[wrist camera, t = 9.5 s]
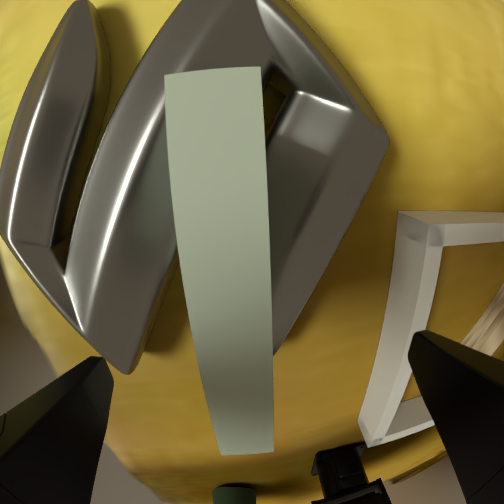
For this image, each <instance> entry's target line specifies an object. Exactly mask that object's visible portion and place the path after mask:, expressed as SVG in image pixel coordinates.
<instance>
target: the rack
mask: <svg viewBox="0 0 504 504" xmlns="http://www.w3.org/2000/svg"><path fill="white" fill-rule="evenodd" d="M503 241H504V212H477V211H398V214H397V228H396V239H395V249H394V258H393V266H392V274H391V281H390V287H389V294H388V300H387V306H386V311H385V317H384V322H383V327H382V332H381V336H380V341H379V345H378V350H377V354H376V358H375V362H374V366H373V370H372V374H371V377H370V381H369V385H368V388H367V392H366V395H365V398H364V402H363V405H362V408H361V411H360V414H359V417H358V420H357V422H358V425H359V427H360V430H361V432H362V434H363V437H364V439H365V442H366V444H367V447H368V448H369V447H373V446H376V445H380V444H383V443H386V442H389V441H392V440H396V439H399V438H401V437H404V436H407V435H410V434H413V433H415V432H418V431H421V430H423V429H426V428H428V427H431V426H433V425H435V424H434V422H433V420H432V418H431V415H430V413H429V411H428V409H427V407H426V405H425V403H424V401H423V398H422V396H420V397H417V398H414V399H411V400H407V401H404V402H401V403H400V401H401V399H402V396H403V394H404V391H405V389H406V386H407V384H408V381H409V378H410V375H411V373H412V369H411V367H410V364H409V362H408V351H409V347H410V344H411V341H412V337H413V335H414V333H415V332H417V331H421V330H425V329H426V325H427V321H428V318H429V314H430V310H431V306H432V301H433V297H434V292H435V288H436V283H437V278H438V273H439V267H440V261H441V255H442V249H443V246H455V245H467V244H479V243H491V242H503Z"/></svg>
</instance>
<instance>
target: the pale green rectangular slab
mask: <svg viewBox="0 0 504 504" xmlns="http://www.w3.org/2000/svg"><path fill="white" fill-rule="evenodd" d="M164 84H165V113H166V133H167V148H168V162H169V174H170V185H171V195H172V204H173V213H174V222H175V230H176V238H177V246H178V253H179V260H180V267H181V274H182V280H183V286H184V292H185V298H186V304H187V310H188V315H189V321H190V326H191V332H192V337H193V342H194V347H195V352H196V356H197V361H198V366H199V370H200V375H201V379H202V384H203V388H204V392H205V397H206V401H207V405H208V409H209V413H210V417H211V421H212V425H213V428H214V432H215V436H216V439H217V443H218V447H219V450H220V454H221V455H239V454H255V453H267V452H274V400H273V340H272V300H271V268H270V240H269V214H268V192H267V170H266V151H265V132H264V115H263V98H262V82H261V67H234V68H219V69H208V70H198V71H190V72H182V73H175V74H168V75H164Z"/></svg>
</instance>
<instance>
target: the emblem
mask: <svg viewBox="0 0 504 504" xmlns="http://www.w3.org/2000/svg"><path fill="white" fill-rule="evenodd" d="M234 67H261V82H262V91H263V90H264V88H265V86H266V84H267V83H268V81H269V82H270V83H271V84H272V85H273V86H274V87H275V88H277V89H278V90H279V91H280V92H281V93H282V94H284V95H285V96H286V98H285V100H284V102H283V104H282V106H281V107H280V109H279V111H278V113H277V115H276V117H275V119H274V121H273V123H272V125H271V126H270V128H269V130H268V132H267V134H266V136H265V151H266V170H267V192H268V214H269V240H270V268H271V300H272V340H273V356H274V355H275V353H276V352H277V351H278V349H279V348H280V346H281V345H282V343H283V341H284V340H285V338H286V336H287V335H288V333H289V332H290V330H291V328H292V327H293V325H294V323H295V322H296V320H297V318H298V317H299V315H300V313H301V311H302V310H303V308H304V306H305V305H306V303H307V301H308V299H309V298H310V296H311V294H312V293H313V291H314V289H315V287H316V286H317V284H318V282H319V280H320V278H321V277H322V275H323V273H324V271H325V270H326V268H327V266H328V264H329V263H330V261H331V259H332V257H333V255H334V254H335V252H336V250H337V248H338V246H339V245H340V243H341V241H342V239H343V237H344V235H345V234H346V232H347V230H348V228H349V226H350V224H351V222H352V221H353V219H354V217H355V215H356V213H357V211H358V209H359V207H360V205H361V203H362V201H363V199H364V198H365V196H366V194H367V192H368V190H369V188H370V186H371V184H372V182H373V180H374V178H375V176H376V174H377V172H378V170H379V168H380V166H381V163H382V161H383V159H384V157H385V155H386V153H387V150H388V148H389V144H390V140H389V136H388V134H387V132H386V130H385V128H384V126H383V124H382V123H381V121H380V119H379V118H378V116H377V114H376V113H375V111H374V110H373V108H372V107H371V105H370V104H369V102H368V101H367V99H366V97H365V96H364V95H363V93H362V92H361V90H360V89H359V87H358V86H357V84H356V83H355V82H354V80H353V79H352V77H351V76H350V75H349V73H348V72H347V71H346V69H345V68H344V67H343V65H342V64H341V63H340V61H339V60H338V59H337V58H336V56H335V55H334V54H333V53H332V51H331V50H330V49H329V48H328V46H327V45H326V44H325V43H324V42H323V40H322V39H321V38H320V37H319V36H318V35H317V33H316V32H315V31H314V30H313V29H312V28H311V27H310V26H309V24H308V23H307V22H306V21H305V20H304V19H303V18H302V17H301V16H300V15H299V14H298V13H297V12H296V11H295V10H294V9H293V8H292V7H291V6H290V5H289V4H288V3H287V2H286V1H285V0H181V2H180V3H179V4H178V5H177V7H176V8H175V9H174V11H173V12H172V13H171V15H170V16H169V18H168V19H167V20H166V22H165V23H164V25H163V26H162V27H161V29H160V30H159V32H158V33H157V35H156V36H155V38H154V39H153V41H152V42H151V44H150V46H149V47H148V49H147V50H146V52H145V54H144V55H143V57H142V59H141V60H140V62H139V64H138V65H137V67H136V69H135V71H134V72H133V74H132V76H131V78H130V80H129V82H128V83H127V85H126V87H125V89H124V91H123V93H122V95H121V97H120V99H119V101H118V103H117V105H116V107H115V109H114V111H113V114H112V116H111V118H110V120H109V122H108V125H107V127H106V129H105V132H104V134H103V137H102V139H101V141H100V144H99V147H98V149H97V152H96V154H95V157H94V160H93V163H92V165H91V168H90V171H89V174H88V177H87V180H86V183H85V186H84V190H83V193H82V196H81V200H80V204H79V207H78V211H77V215H76V219H75V223H74V227H73V232H72V236H70V230H71V225H72V221H73V217H74V213H75V209H76V205H77V201H78V198H79V194H80V190H81V187H82V183H83V180H84V177H85V173H86V170H87V167H88V164H89V161H90V157H91V154H92V151H93V148H94V145H95V142H96V139H97V136H98V133H99V130H100V127H101V124H102V121H103V117H104V114H105V110H106V106H107V102H108V97H109V89H110V59H109V51H108V46H107V41H106V37H105V33H104V29H103V26H102V22H101V19H100V17H99V14H98V11H97V9H96V8H95V6H94V5H93V4H92V3H91V2H90V1H89V0H76V1H75V2H73V3H72V5H71V6H70V7H69V8H68V10H67V11H66V13H65V15H64V16H63V18H62V19H61V21H60V23H59V25H58V26H57V28H56V30H55V32H54V34H53V35H52V37H51V39H50V41H49V43H48V45H47V47H46V48H45V50H44V52H43V54H42V56H41V58H40V60H39V62H38V64H37V66H36V68H35V70H34V72H33V74H32V76H31V78H30V80H29V82H28V85H27V87H26V89H25V92H24V94H23V96H22V99H21V102H20V104H19V107H18V110H17V112H16V115H15V118H14V121H13V124H12V127H11V130H10V134H9V137H8V140H7V144H6V148H5V151H4V155H3V159H2V163H1V168H0V235H1V237H2V239H3V240H4V242H5V243H6V245H7V246H8V248H9V249H10V251H11V252H12V253H13V255H14V256H15V258H16V259H17V261H18V262H19V263H20V265H21V266H22V267H23V269H24V270H25V271H26V273H27V274H28V275H29V277H30V278H31V279H32V281H33V282H34V283H35V284H36V286H37V287H38V288H39V289H40V291H41V292H42V293H43V294H44V295H45V297H46V298H47V299H48V300H49V301H50V303H51V304H52V305H53V306H54V307H55V308H56V309H57V311H58V312H59V313H60V314H61V315H62V316H63V317H64V318H65V319H66V320H67V322H68V323H69V324H70V325H71V326H72V327H73V328H74V329H75V330H76V331H77V332H78V333H79V334H80V335H81V336H82V337H83V338H84V339H85V340H86V341H87V342H88V343H89V344H90V345H91V346H92V347H93V348H94V349H95V350H96V351H97V352H98V353H99V354H100V355H101V356H102V357H103V358H105V359H106V360H107V361H108V362H109V363H110V364H111V365H112V366H114V367H115V368H116V369H117V370H119V371H120V372H121V373H123V374H126V375H129V374H131V373H132V372H133V371H134V370H135V368H136V367H137V365H138V363H139V361H140V359H141V356H142V354H143V351H144V348H145V346H146V343H147V340H148V338H149V335H150V332H151V330H152V327H153V324H154V322H155V319H156V317H157V314H158V312H159V309H160V307H161V304H162V302H163V299H164V297H165V294H166V292H167V289H168V287H169V284H170V282H171V280H172V277H173V275H174V273H175V270H176V268H177V265H178V263H179V261H180V260H179V253H178V246H177V238H176V230H175V222H174V213H173V204H172V195H171V185H170V174H169V162H168V148H167V133H166V113H165V84H164V75H168V74H175V73H182V72H190V71H198V70H208V69H219V68H234Z"/></svg>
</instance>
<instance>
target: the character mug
mask: <svg viewBox="0 0 504 504" xmlns="http://www.w3.org/2000/svg"><path fill="white" fill-rule="evenodd" d="M212 494H213V504H256V491H255V490H254V489H251V488H243V487H234V486H231V487H219V488H216V489H214V490H213V491H212Z"/></svg>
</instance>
